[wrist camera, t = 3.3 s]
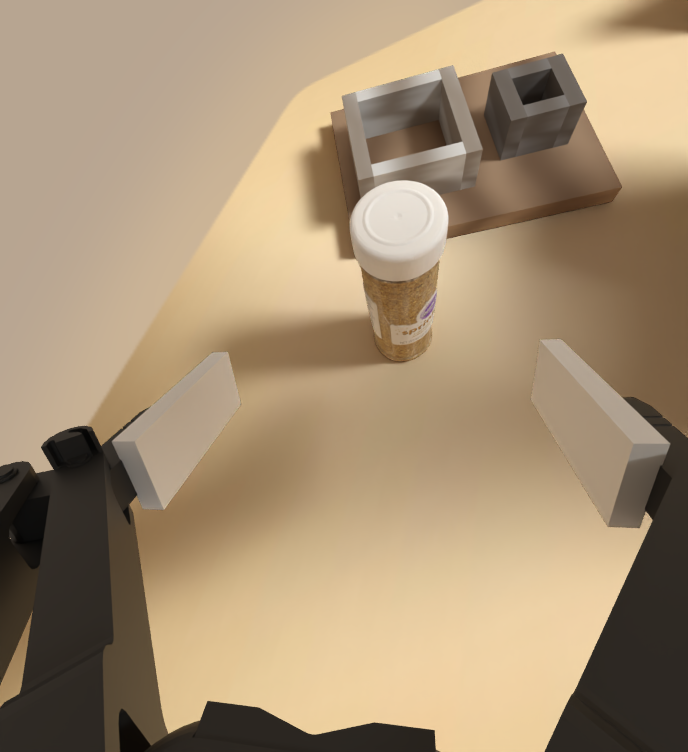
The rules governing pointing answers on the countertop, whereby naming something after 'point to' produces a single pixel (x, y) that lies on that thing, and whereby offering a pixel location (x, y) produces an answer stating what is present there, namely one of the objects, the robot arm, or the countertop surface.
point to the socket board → (478, 143)
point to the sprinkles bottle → (400, 262)
